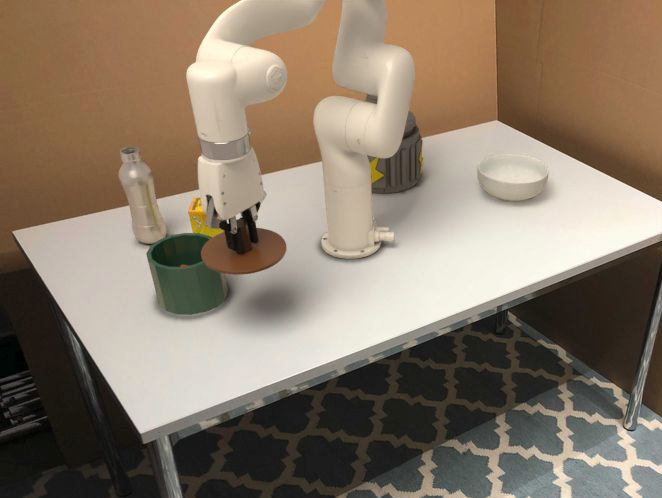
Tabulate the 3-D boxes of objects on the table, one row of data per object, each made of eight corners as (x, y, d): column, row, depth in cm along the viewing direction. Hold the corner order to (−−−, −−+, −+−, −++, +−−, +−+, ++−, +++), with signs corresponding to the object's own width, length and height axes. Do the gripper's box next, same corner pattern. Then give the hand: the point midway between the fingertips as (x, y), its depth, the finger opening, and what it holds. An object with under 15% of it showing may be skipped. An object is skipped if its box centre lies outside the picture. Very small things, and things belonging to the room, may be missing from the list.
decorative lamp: (356, 158, 197) (350, 37, 178) (428, 165, 196) (429, 44, 177) (336, 191, 182) (327, 63, 164) (414, 199, 181) (414, 71, 162)
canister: (234, 280, 151) (225, 233, 145) (219, 317, 142) (210, 269, 135) (169, 278, 151) (158, 232, 144) (150, 316, 141) (137, 268, 134)
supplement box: (202, 243, 162) (193, 196, 155) (231, 243, 162) (223, 196, 155) (197, 258, 157) (187, 211, 150) (227, 258, 157) (218, 211, 151)
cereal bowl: (557, 191, 187) (561, 164, 183) (525, 218, 176) (527, 190, 171) (498, 172, 194) (500, 146, 189) (462, 197, 183) (464, 169, 178)
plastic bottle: (159, 249, 159) (137, 159, 147) (129, 244, 160) (104, 155, 147) (174, 234, 164) (154, 145, 152) (145, 230, 165) (123, 141, 152)
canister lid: (292, 233, 138) (288, 203, 134) (279, 278, 127) (275, 246, 123) (213, 232, 137) (206, 201, 133) (192, 277, 126) (185, 245, 122)
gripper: (244, 120, 126) (259, 219, 137) (167, 157, 115) (191, 260, 127) (279, 131, 123) (292, 231, 135) (203, 170, 112) (225, 274, 124)
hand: (243, 244), depth 130 cm, fingers closed on canister lid, 2 cm apart
